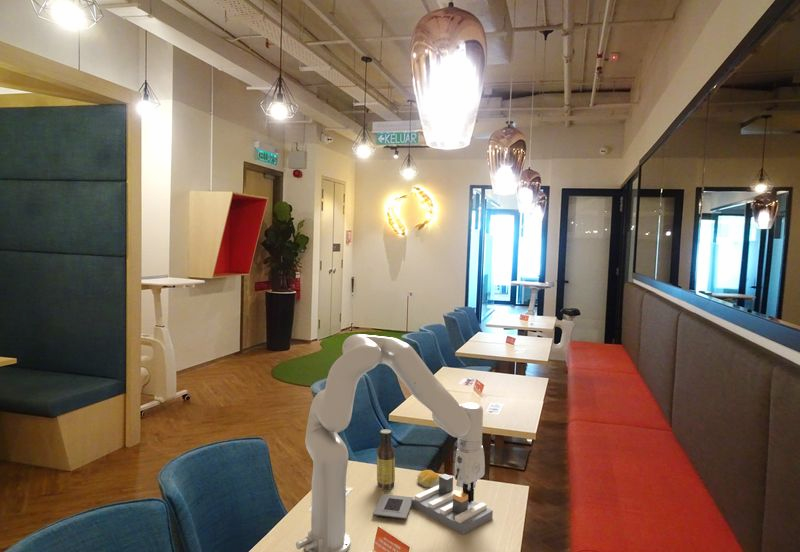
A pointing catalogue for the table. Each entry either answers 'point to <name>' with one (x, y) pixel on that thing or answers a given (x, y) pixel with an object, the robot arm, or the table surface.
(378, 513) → the grey flat block
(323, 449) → the robot arm
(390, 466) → the sauce bottle
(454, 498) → the block
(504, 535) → the table surface
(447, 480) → the on breaker handle
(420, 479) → the bread roll
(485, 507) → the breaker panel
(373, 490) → the table surface
